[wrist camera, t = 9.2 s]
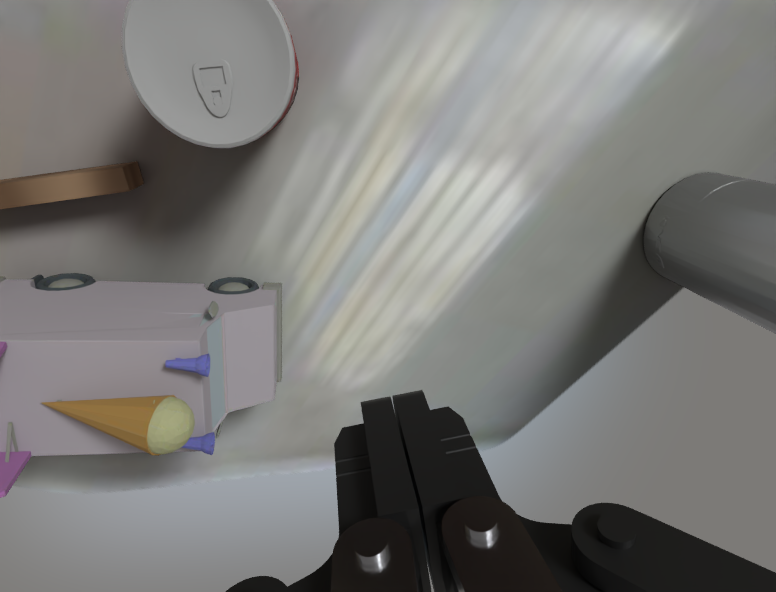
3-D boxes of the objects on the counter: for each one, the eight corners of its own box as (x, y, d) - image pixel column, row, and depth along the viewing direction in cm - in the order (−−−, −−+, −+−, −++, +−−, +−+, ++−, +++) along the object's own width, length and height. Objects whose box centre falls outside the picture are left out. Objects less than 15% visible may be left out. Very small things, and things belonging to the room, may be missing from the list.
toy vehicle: (282, 371, 41) (270, 509, 28) (21, 373, 38) (-141, 529, 24) (283, 265, 38) (269, 360, 24) (-3, 257, 35) (-206, 361, 21)
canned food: (216, 151, 34) (177, 174, 24) (153, 28, 31) (79, -5, 21) (319, 108, 34) (323, 113, 24) (267, -19, 31) (247, -75, 21)
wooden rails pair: (136, 157, 34) (102, 169, 28) (204, 384, 41) (188, 428, 35) (-85, 187, 33) (-166, 205, 27) (24, 416, 39) (-22, 467, 34)
